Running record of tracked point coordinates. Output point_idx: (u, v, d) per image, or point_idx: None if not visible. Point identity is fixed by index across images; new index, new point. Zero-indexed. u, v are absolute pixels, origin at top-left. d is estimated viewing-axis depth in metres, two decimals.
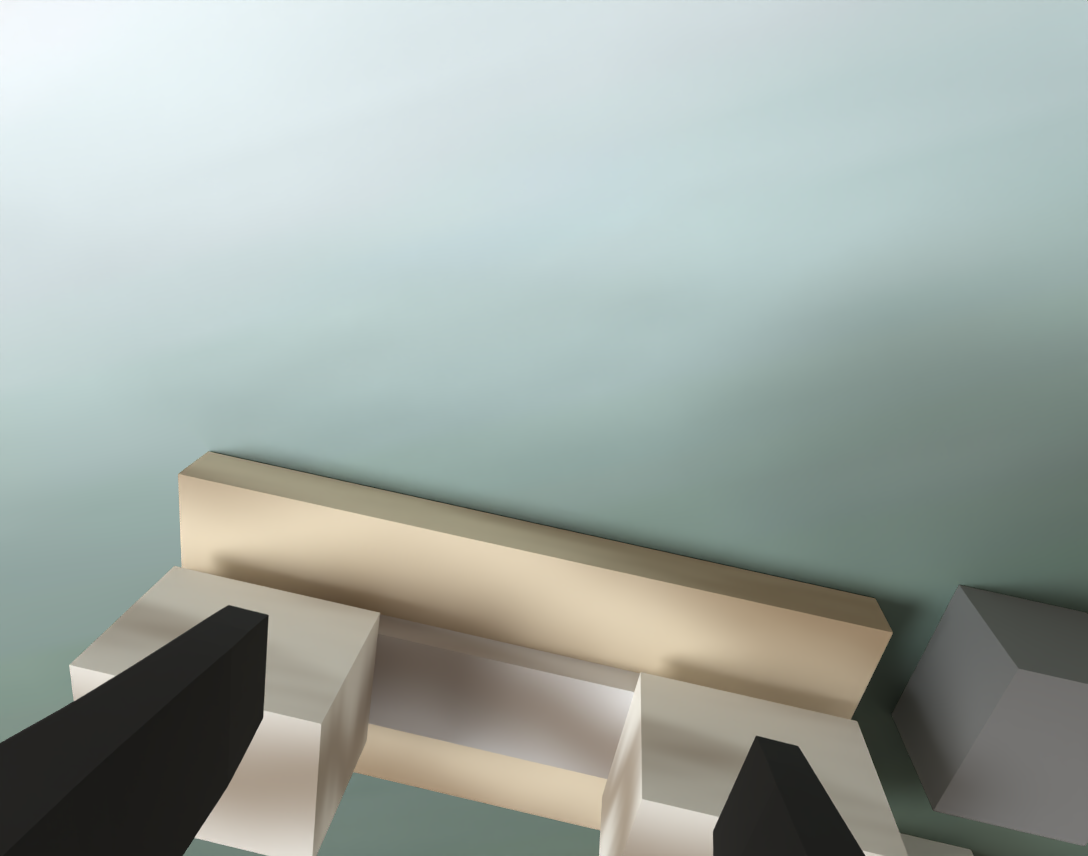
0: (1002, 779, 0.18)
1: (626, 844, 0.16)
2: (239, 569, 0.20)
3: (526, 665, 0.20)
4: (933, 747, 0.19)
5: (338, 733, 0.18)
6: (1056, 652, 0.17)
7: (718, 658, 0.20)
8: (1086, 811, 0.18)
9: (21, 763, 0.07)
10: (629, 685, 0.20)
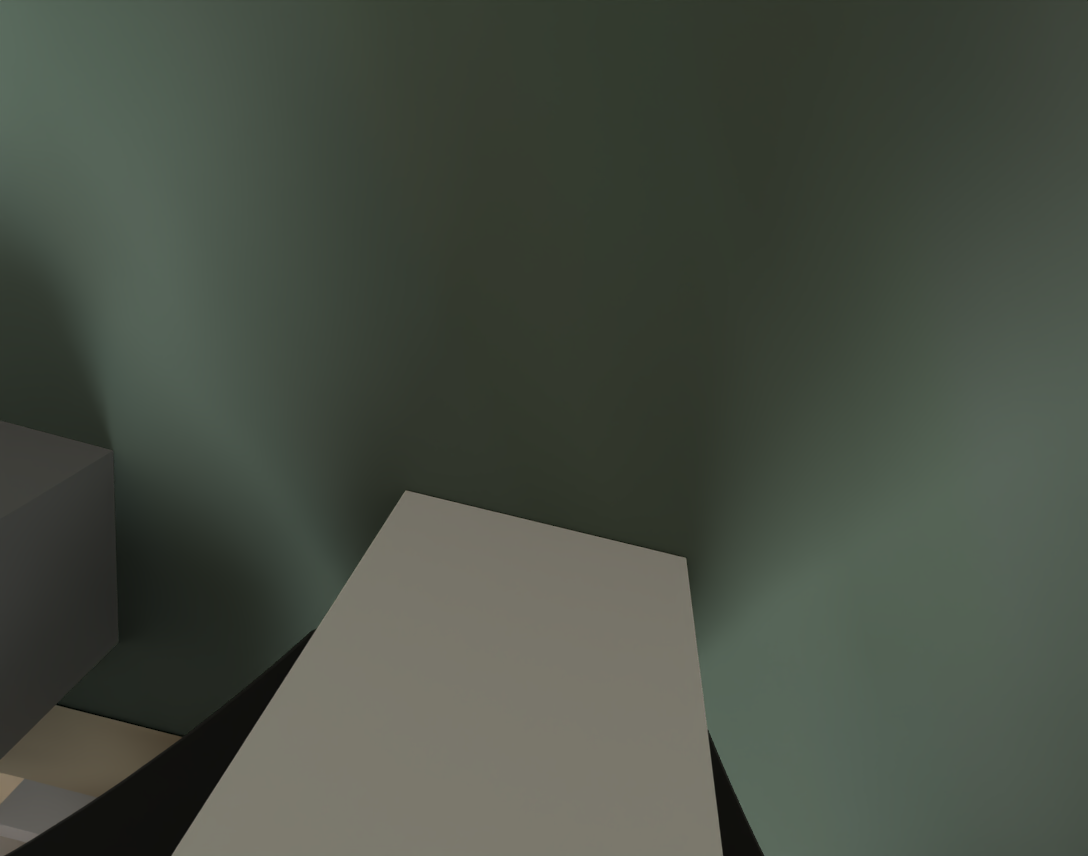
0: None
1: None
2: None
3: None
4: None
5: None
6: None
7: None
8: None
9: (153, 797, 0.07)
10: None
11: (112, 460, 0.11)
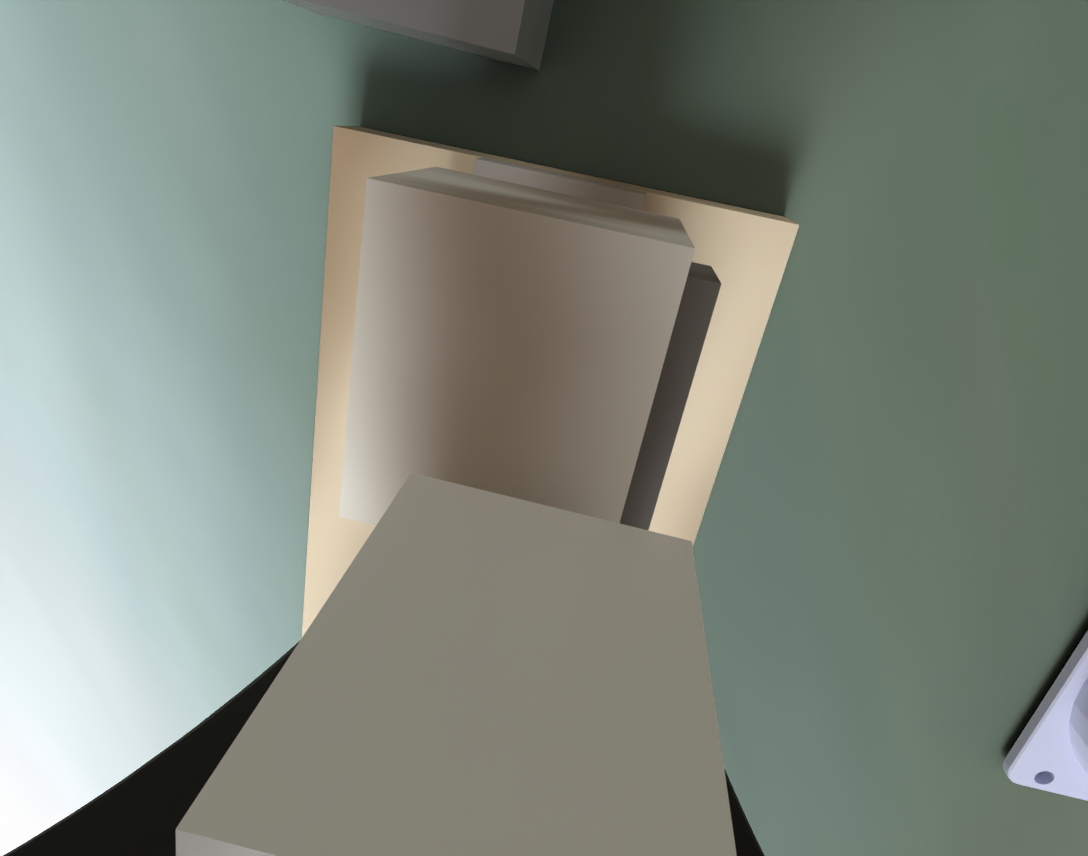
0: None
1: None
2: None
3: None
4: (468, 46, 0.13)
5: None
6: None
7: None
8: None
9: (153, 797, 0.07)
10: None
11: None
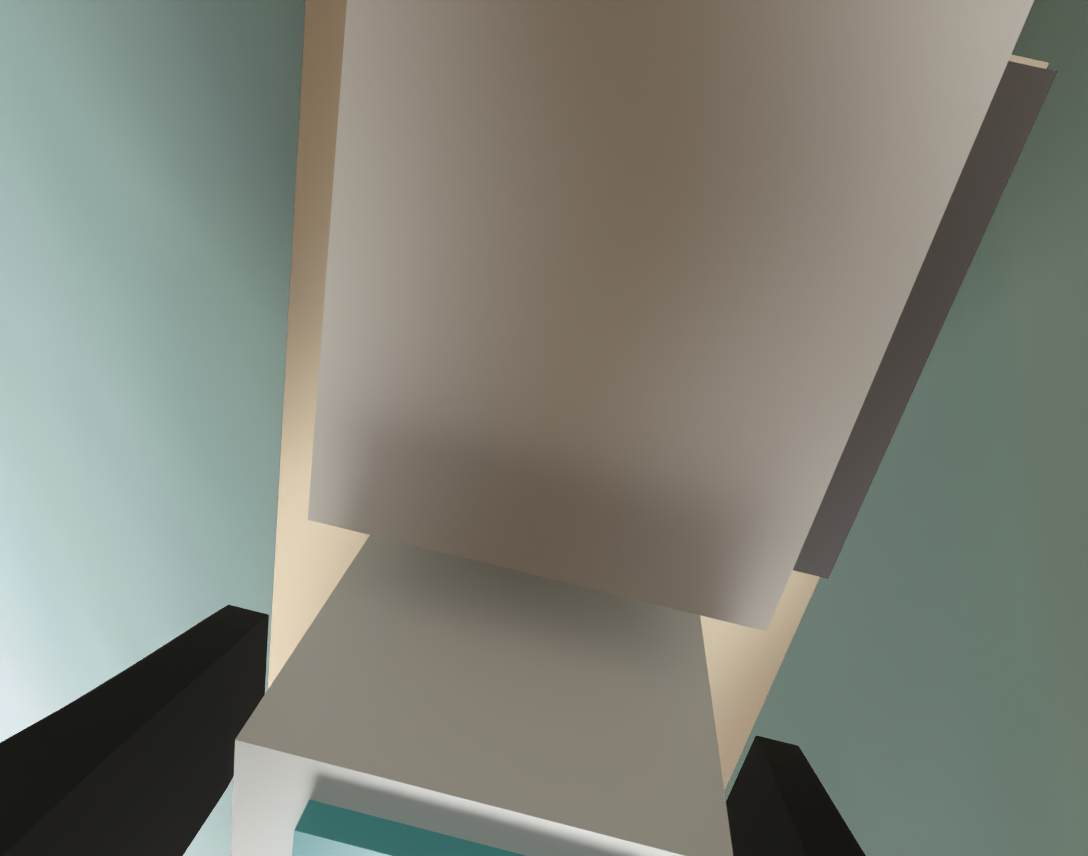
0: None
1: (449, 552, 0.07)
2: None
3: None
4: None
5: None
6: None
7: None
8: None
9: (20, 763, 0.07)
10: None
11: None
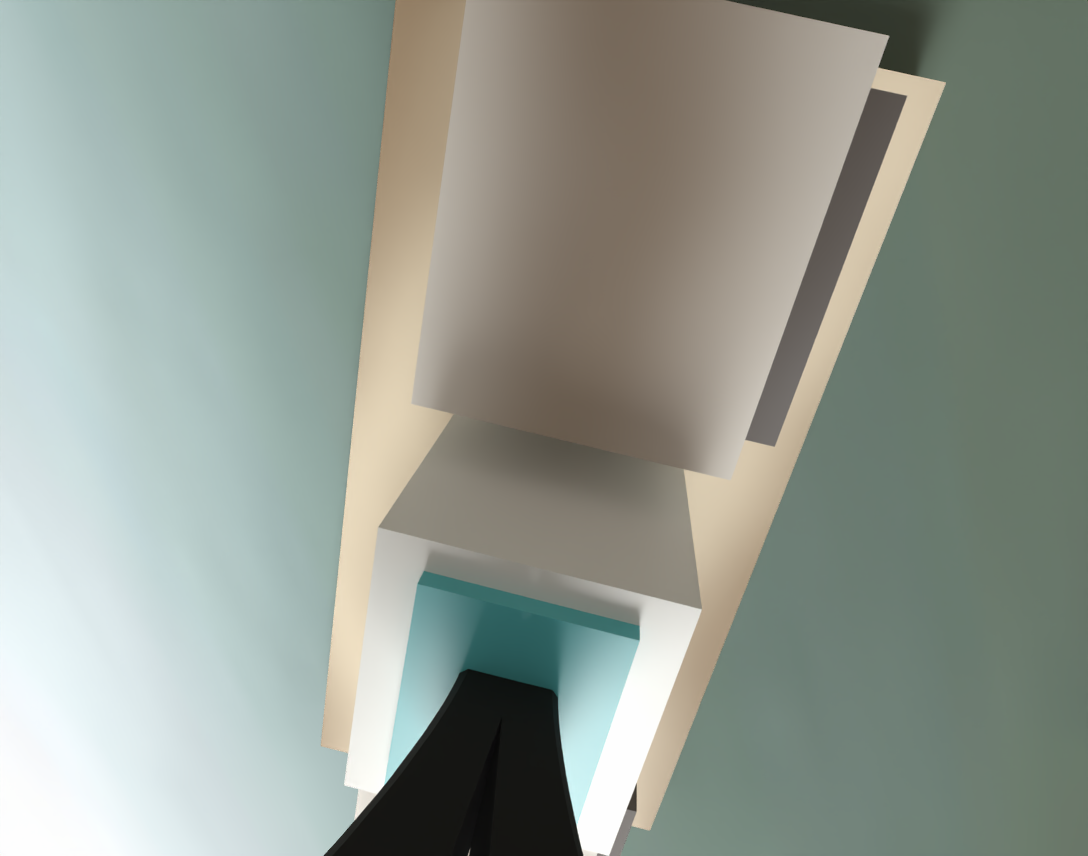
0: None
1: (510, 426, 0.11)
2: None
3: None
4: None
5: None
6: None
7: None
8: None
9: (380, 855, 0.06)
10: None
11: None
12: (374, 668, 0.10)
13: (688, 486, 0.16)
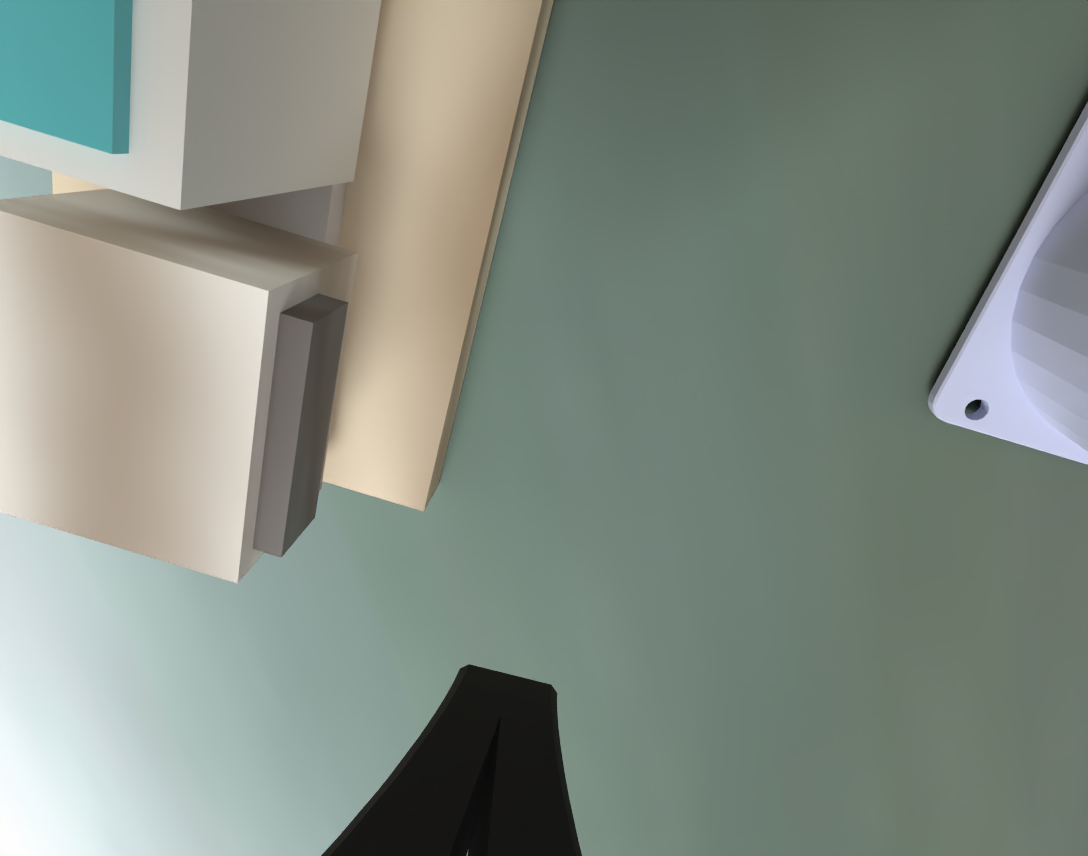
0: None
1: None
2: None
3: None
4: None
5: (123, 223, 0.12)
6: None
7: None
8: None
9: (379, 855, 0.06)
10: None
11: None
12: None
13: (430, 11, 0.14)
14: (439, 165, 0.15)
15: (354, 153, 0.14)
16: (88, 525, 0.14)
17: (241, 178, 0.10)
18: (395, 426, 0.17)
